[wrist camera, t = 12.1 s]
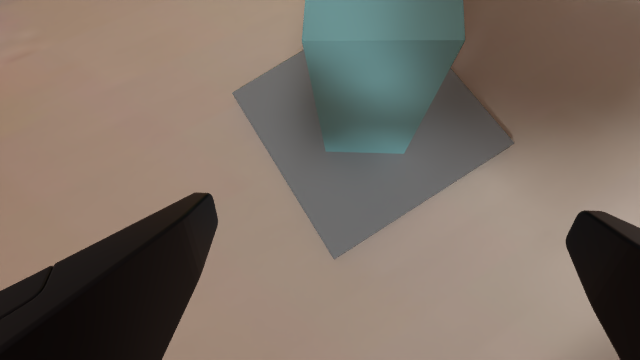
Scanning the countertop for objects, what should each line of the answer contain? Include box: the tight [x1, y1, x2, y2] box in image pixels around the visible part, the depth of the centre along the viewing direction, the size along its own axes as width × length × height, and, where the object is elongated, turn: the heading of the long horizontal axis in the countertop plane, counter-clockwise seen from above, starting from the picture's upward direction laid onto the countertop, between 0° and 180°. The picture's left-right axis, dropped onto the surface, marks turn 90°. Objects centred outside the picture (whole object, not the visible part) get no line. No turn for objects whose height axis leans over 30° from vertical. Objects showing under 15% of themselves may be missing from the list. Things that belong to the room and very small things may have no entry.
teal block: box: [302, 0, 465, 154], centre depth 14 cm, size 4×4×10 cm
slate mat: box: [232, 50, 514, 259], centre depth 20 cm, size 12×12×1 cm
